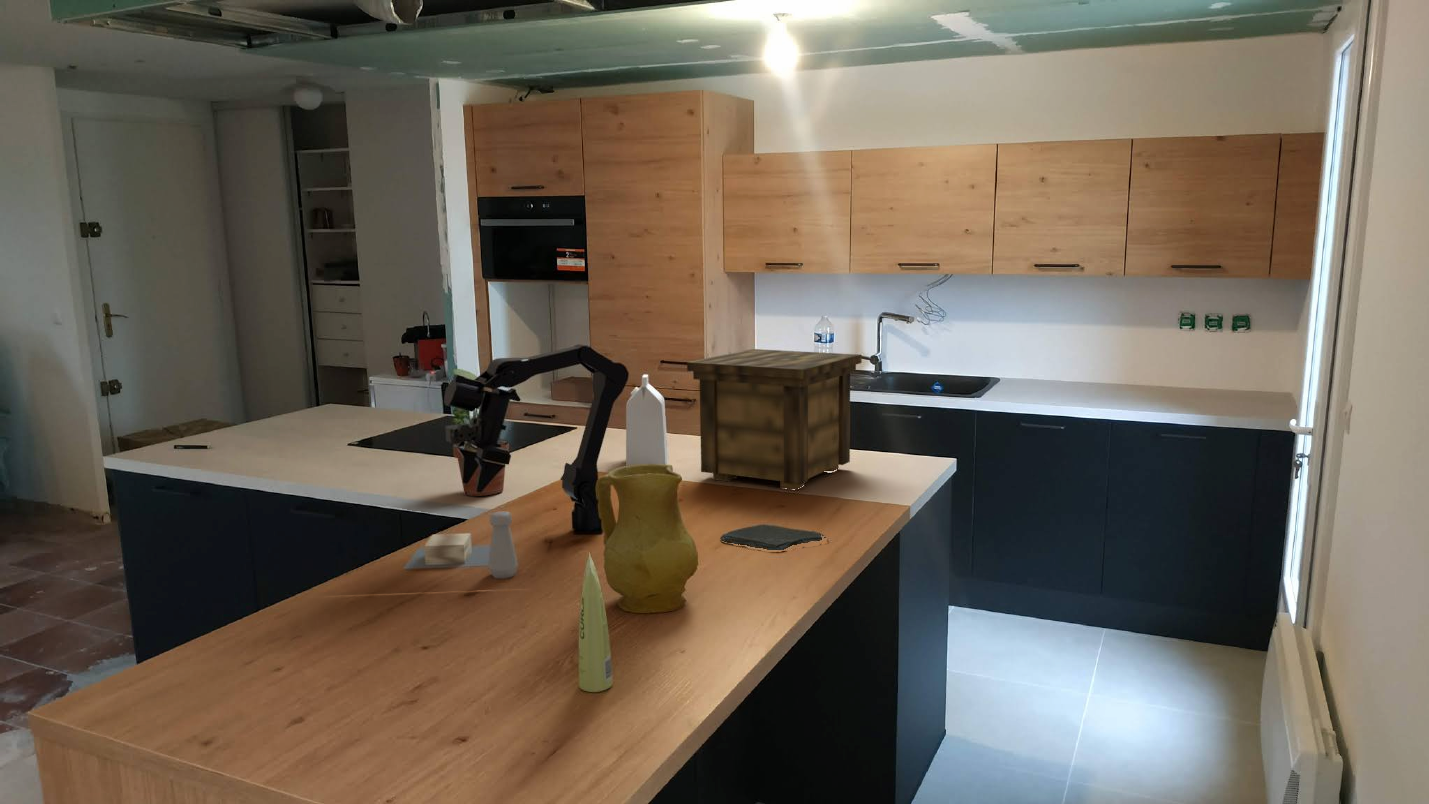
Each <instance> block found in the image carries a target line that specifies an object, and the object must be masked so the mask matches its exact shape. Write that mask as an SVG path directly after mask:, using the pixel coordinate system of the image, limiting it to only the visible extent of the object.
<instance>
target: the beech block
mask: <svg viewBox="0 0 1429 804" xmlns="http://www.w3.org/2000/svg"><path fill="white" fill-rule="evenodd" d="M472 546H473V545H472V534H471V532H470V533H466V532H465V533H446V534H444V533H443V534H442V533H441V534H438V533H437V534H436V533H435V534H431V536H430V538H429V539H428V540H427V542H426V543H425V544H424V545H423V548H424V552H425V565H436V564H465V563H466V561H467V559H468V557H469V556H470V554H471V552H472Z"/></svg>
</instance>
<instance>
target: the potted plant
mask: <svg viewBox="0 0 1429 804" xmlns="http://www.w3.org/2000/svg"><path fill="white" fill-rule="evenodd" d="M452 371H453V373H454V375H455V374H457V375H461V376H463V377H465V378H468V379H472V380H475V379H476V378H477V377H478V376H477V375H476V374H474V373H472V372H470V371H468V370H464V369H462V368H455V369H453V370H452ZM483 390H487V387H484V389H483ZM479 409H480V407H479V408H478V409H477V408H475V410H474V411H472V412H473V413H472V418H474V417H477V416H478V412H479ZM452 413H453V416H454V417H453V418H452V420H451V425H458V424H467V420H468V424H469V423H471V421H472V418H471V415H470V413H471V411H467V410H463V409H459V408H455V407H453V409H452ZM498 443H499V444H501V447H500V448H503V449H505V450H507V451H509V452H510V450H509V449H510V448H509V447H510V443H509V441H508V440H506V439H501V438H500V439H499V442H498ZM456 447H459V448H460V446H457V445H455V444H452V450H453V457H454V458H455V459H457V464H458V467H459V472H460V479H461V480H462V456H461V454H460V453H459V451H458V450H457V448H456ZM504 465H506V464H504ZM478 472H479V466H478V468H477V469H476V471H475V473H474V474H473V476H472V478H471V479H470V480H469V482H468V483H467V484H466V483H463V482H462V481H461V483H462V489H463V493H464V495H467V496H477V497H478V496H490V495H491V496H492V495H495V494H498V493H501V492H502V493H503V491H504V486H505V475H506V473H505V472H506V467H505V468H504V467H503V468H502V469H501V470H500V472H499V473H498V474H497V475H496V476H495V477H494V478H493V479H492V480H491V482H490V483H489V484H488V485H487V486H486V487H485V489H484V490H483V491H482V492H477V491H476V486H477V479H478Z"/></svg>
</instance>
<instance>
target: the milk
mask: <svg viewBox="0 0 1429 804" xmlns="http://www.w3.org/2000/svg"><path fill="white" fill-rule="evenodd" d="M665 405H666V404H665V398H664V396H663V395H662V394H661V392H659V391H658V390H657V389H656V388H655V387H653V386H652V385H651V384H650V383H649V374H643V375H642V376H641V385H640V386H639V387H638V386H636V387H635V388H633V390H632V391H631V392H630V397H629V399H627V401H626V407H625V410H626V411H625V416H626V417H625V420H626V421H625V424H626V425H625V426H626V427H625V432H626V435H625V436H626V437H625V445H626V446H625V466H633V465H642V464H661V465H668V460H669V451H668V437H667V435H668V434H667V420H666V417H667V416H666V406H665Z"/></svg>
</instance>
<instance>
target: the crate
mask: <svg viewBox="0 0 1429 804" xmlns="http://www.w3.org/2000/svg"><path fill="white" fill-rule="evenodd" d="M862 361H863V360H862V354H856V353H855V354H854V353H838V352H837V353H835V352H833V353H832V352H820V351H819V352H816V351H814V352H813V351H800V350H799V351H795V350H782V349H781V350H778V349H761V348H760V349H759V348H752V349H747V350H746V349H745V350H743V351H737V352H732V353H726V354H722V355H717V356H711V357H707V358H702V359H698V360H697V359H696V360H692V361H687V362H686V371H687V372H692V376H693V378H692V379H693V380H696V381H697V380H699V416H700V417H699V423H700V424H699V425H700V430H699V431H700V433H699V434H700V467H701V468H700V470H701V473H707V474H708V473H709V474H712V479H713V480H717V481H723V482H730V481H732V480H734V479H737V476H738V477H747V478H753V479H754V478H755V479H762V480H771V481H776V482H780V483H779V485H780V487H779V488H780V489H781V488H787V489H786V490H788V489H795V490H796V491H798V490H799V489H798V488H800V487H802V486H803V485H804V486H805V483H807V482H808V481H809V479H811V478H812V477H815V476H818V475H819V474H823V473H822V472H824V471H834V470H836V469H838V468H839V466H844V465H846V464H848V463H850V462H851V461H850V460H851V447H850V446H851V374H852V373H855V372H857V365H859V364H862ZM733 478H734V479H733ZM731 479H732V480H731ZM729 480H730V481H729ZM797 489H798V490H797ZM800 489H801V488H800ZM795 490H794V491H795Z"/></svg>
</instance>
